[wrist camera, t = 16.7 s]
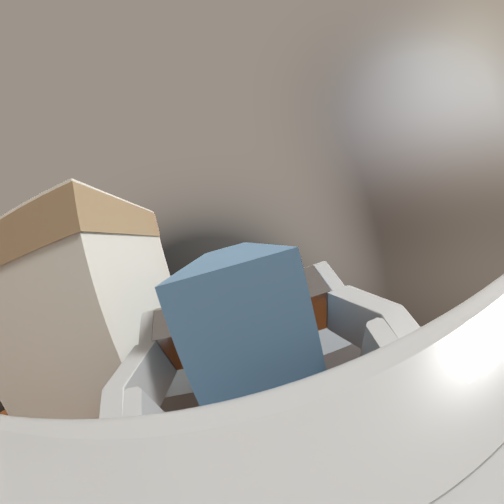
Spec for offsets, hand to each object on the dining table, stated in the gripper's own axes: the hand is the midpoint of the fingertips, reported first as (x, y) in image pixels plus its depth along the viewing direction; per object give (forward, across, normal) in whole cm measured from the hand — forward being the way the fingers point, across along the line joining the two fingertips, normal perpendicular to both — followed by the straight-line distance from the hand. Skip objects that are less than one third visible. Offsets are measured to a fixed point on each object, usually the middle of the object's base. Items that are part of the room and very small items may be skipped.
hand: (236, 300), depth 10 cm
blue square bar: (+5, 0, +6) cm, 8 cm away
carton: (-2, +12, +21) cm, 24 cm away
